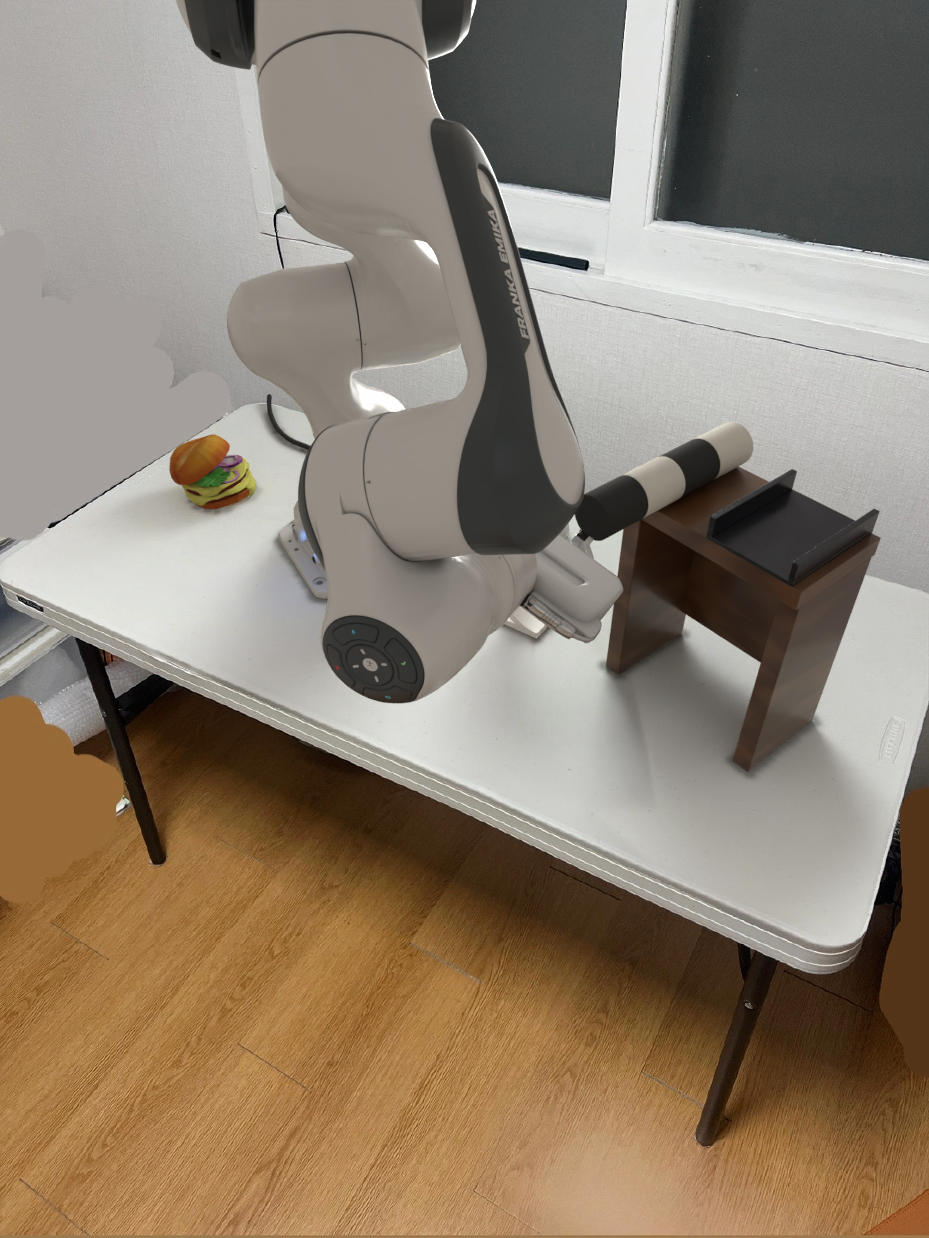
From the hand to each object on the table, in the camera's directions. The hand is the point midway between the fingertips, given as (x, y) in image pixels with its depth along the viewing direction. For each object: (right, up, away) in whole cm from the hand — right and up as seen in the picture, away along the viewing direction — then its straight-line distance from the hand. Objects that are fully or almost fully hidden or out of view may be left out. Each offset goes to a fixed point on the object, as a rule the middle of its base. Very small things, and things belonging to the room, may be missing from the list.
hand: (539, 509), depth 78 cm
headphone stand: (+1, -10, +30) cm, 32 cm away
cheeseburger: (-43, +8, +51) cm, 67 cm away
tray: (+23, -2, +2) cm, 23 cm away
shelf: (+20, -18, +20) cm, 34 cm away
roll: (+13, +2, +5) cm, 14 cm away
